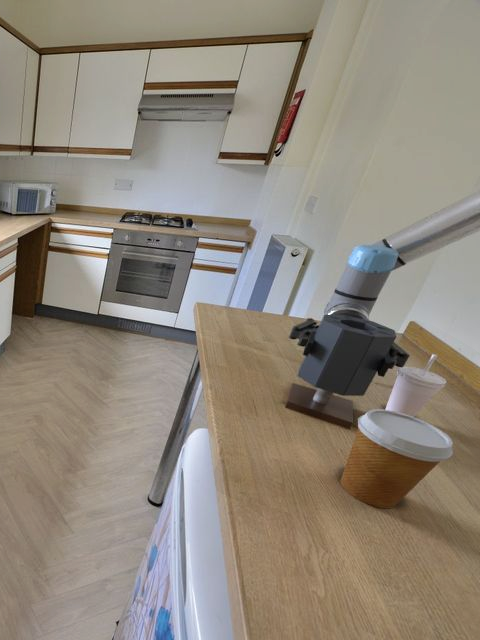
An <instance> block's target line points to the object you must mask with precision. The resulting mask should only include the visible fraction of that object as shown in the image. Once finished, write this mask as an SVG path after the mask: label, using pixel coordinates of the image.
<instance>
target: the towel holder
mask: <svg viewBox="0 0 480 640" xmlns="http://www.w3.org/2000/svg"><path fill="white" fill-rule="evenodd" d="M284 408H285V409H289V410H291V411H294V412H298V413H300V414H302V415H305V416H309V417H313V418H315V419H318V420H320V421H324V422H327V423H329V424H333V425H336V426H338V427H342V428H345V429H348V430H350V429H351V428H352V426H353V424H354V401H353V400H351V399H347V398H344V397H341V396H339V395H338V396H337V395H334V393H333V392H329V391H326V390H323V389H320V388H316V389H314V388H311V387H308V386H305V385H301V384H298V383H295V382H291V384H290V387H289V390H288V394H287V397H286V401H285V404H284Z"/></svg>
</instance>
